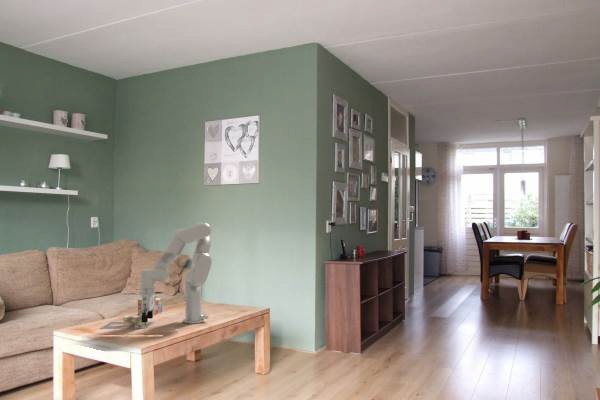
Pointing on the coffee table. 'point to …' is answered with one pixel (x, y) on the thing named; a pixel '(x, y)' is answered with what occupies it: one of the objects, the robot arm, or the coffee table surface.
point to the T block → (134, 321)
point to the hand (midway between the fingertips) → (147, 320)
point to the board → (121, 326)
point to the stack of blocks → (157, 306)
